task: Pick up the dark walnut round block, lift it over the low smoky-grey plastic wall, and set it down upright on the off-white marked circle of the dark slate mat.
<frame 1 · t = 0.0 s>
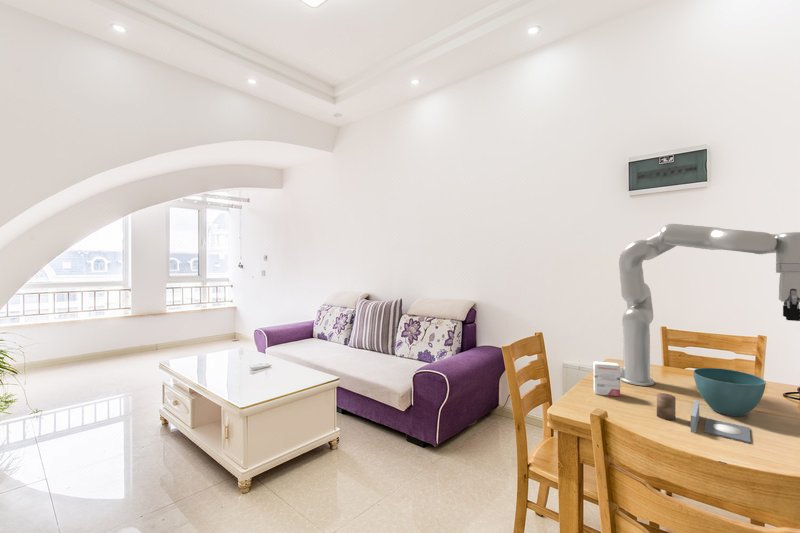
hand: (791, 318, 125), 31 cm above the table, tool pointing down, fingers open, 9 cm apart
ink box: (606, 394, 142), on the table
teal bowl: (727, 412, 125), on the table
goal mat: (727, 430, 110), on the table
lion figurine: (731, 399, 136), on the table
divider wall: (695, 423, 115), on the table
walnut block: (665, 417, 121), on the table
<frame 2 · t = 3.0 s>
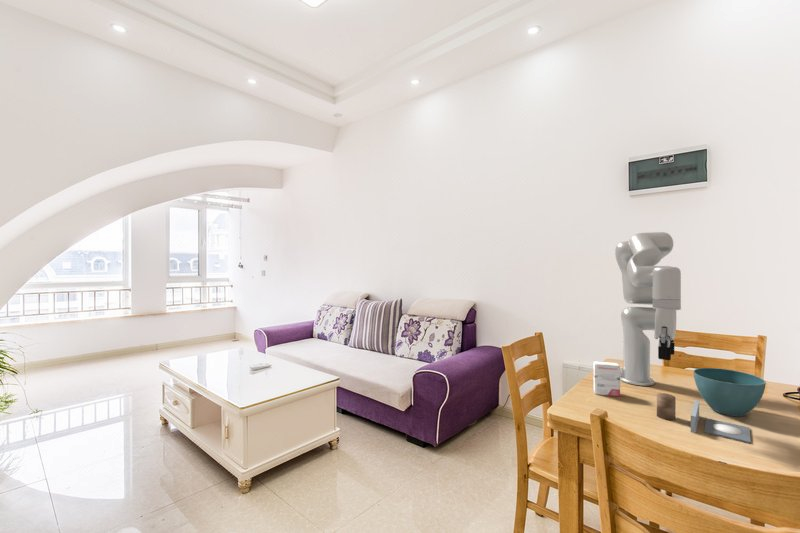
hand: (666, 356, 120), 20 cm above the table, tool pointing down, fingers open, 9 cm apart
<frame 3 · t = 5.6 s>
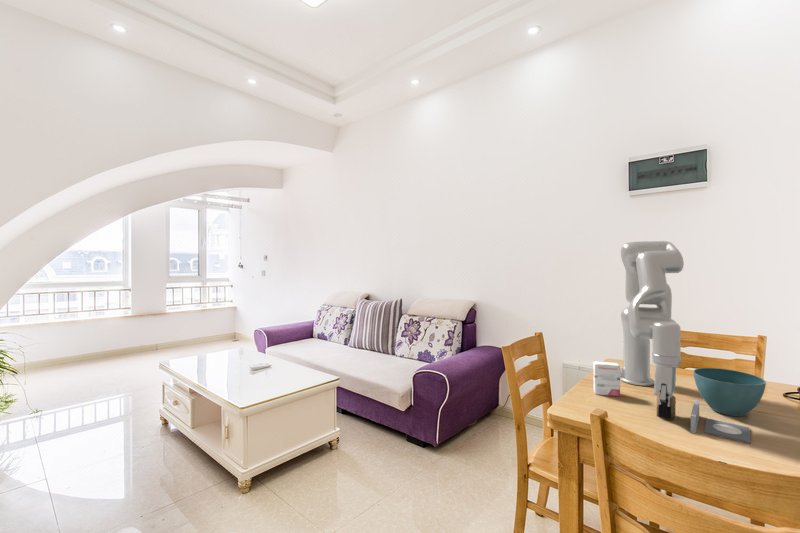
hand: (665, 414, 120), 1 cm above the table, tool pointing down, fingers closed on walnut block, 5 cm apart
walnut block: (665, 417, 121), on the table, touching gripper
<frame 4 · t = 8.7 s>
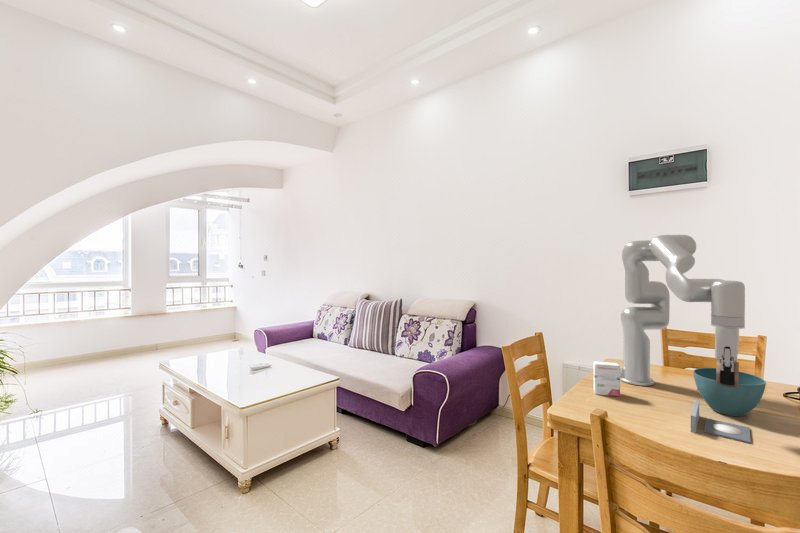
hand: (727, 381, 110), 15 cm above the table, tool pointing down, fingers closed on walnut block, 5 cm apart
walnut block: (727, 384, 110), point 14 cm above the table, touching gripper
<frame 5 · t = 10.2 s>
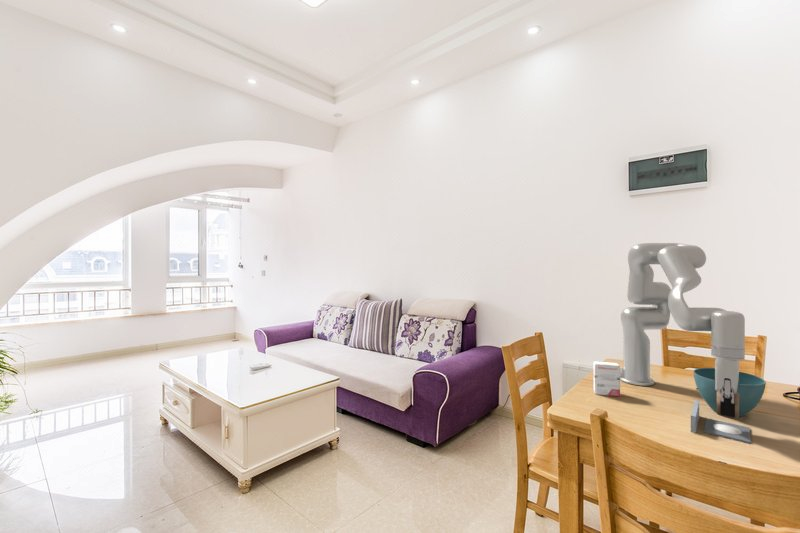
hand: (727, 412, 110), 6 cm above the table, tool pointing down, fingers closed on walnut block, 5 cm apart
walnut block: (727, 415, 110), point 5 cm above the table, touching gripper
when the fingers open (3 cm above the table, at t = 11.6 s): walnut block drops 1 cm, resting on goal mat.
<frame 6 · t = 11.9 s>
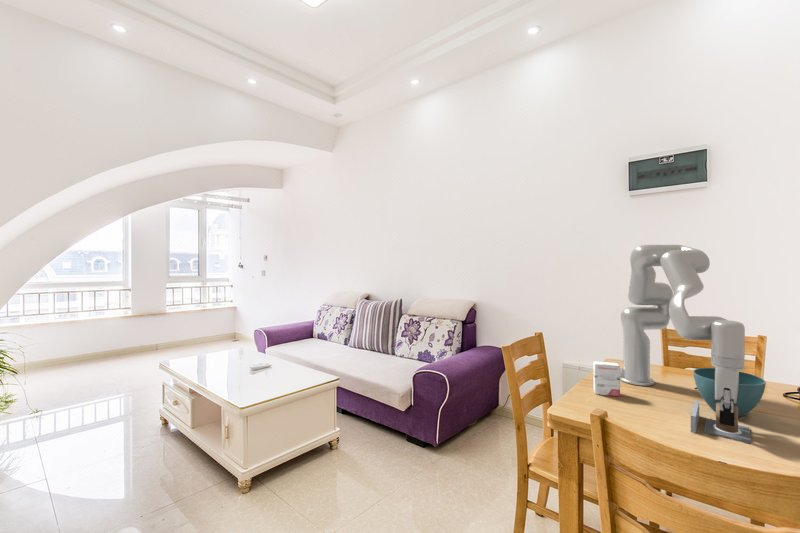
hand: (727, 419, 110), 3 cm above the table, tool pointing down, fingers open, 7 cm apart
walnut block: (726, 428, 110), point 1 cm above the table, touching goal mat
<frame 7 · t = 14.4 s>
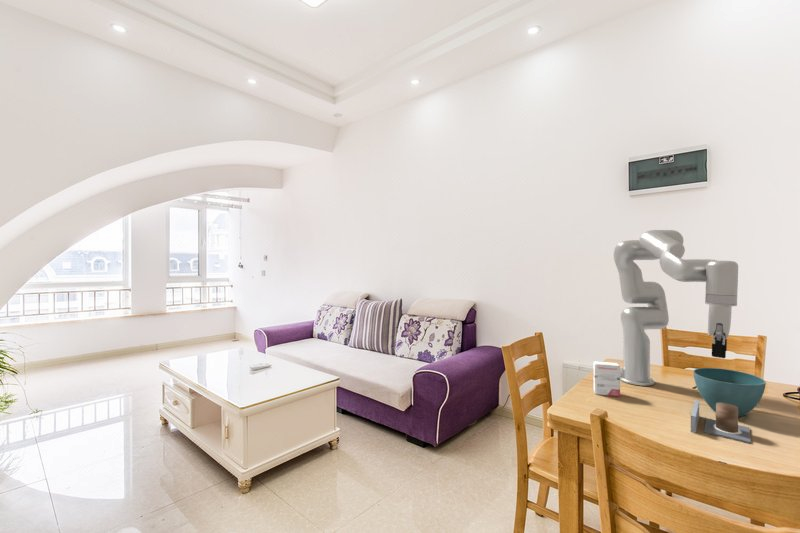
hand: (719, 353, 116), 22 cm above the table, tool pointing down, fingers open, 9 cm apart
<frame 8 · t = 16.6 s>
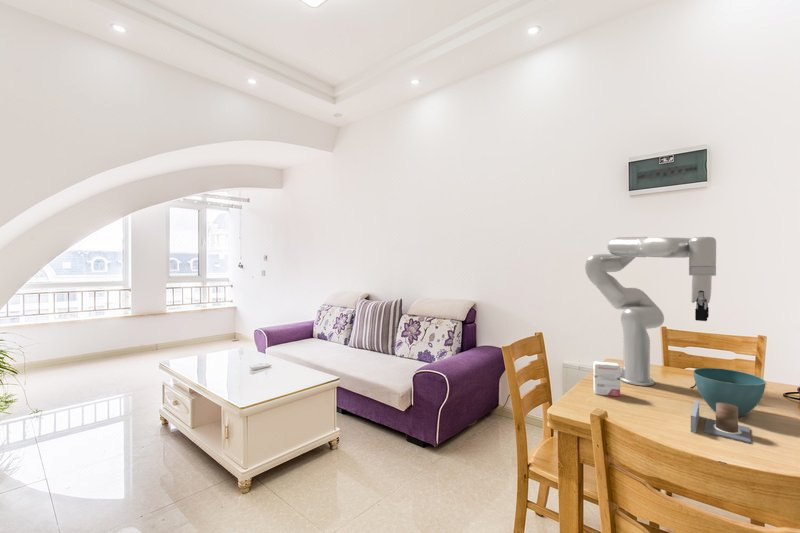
hand: (702, 318, 132), 30 cm above the table, tool pointing down, fingers open, 9 cm apart
at the end: walnut block 0.1 cm off-centre on the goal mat, point 0.6 cm above the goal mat's base; walnut block tilted 0°; the gripper is holding nothing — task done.
